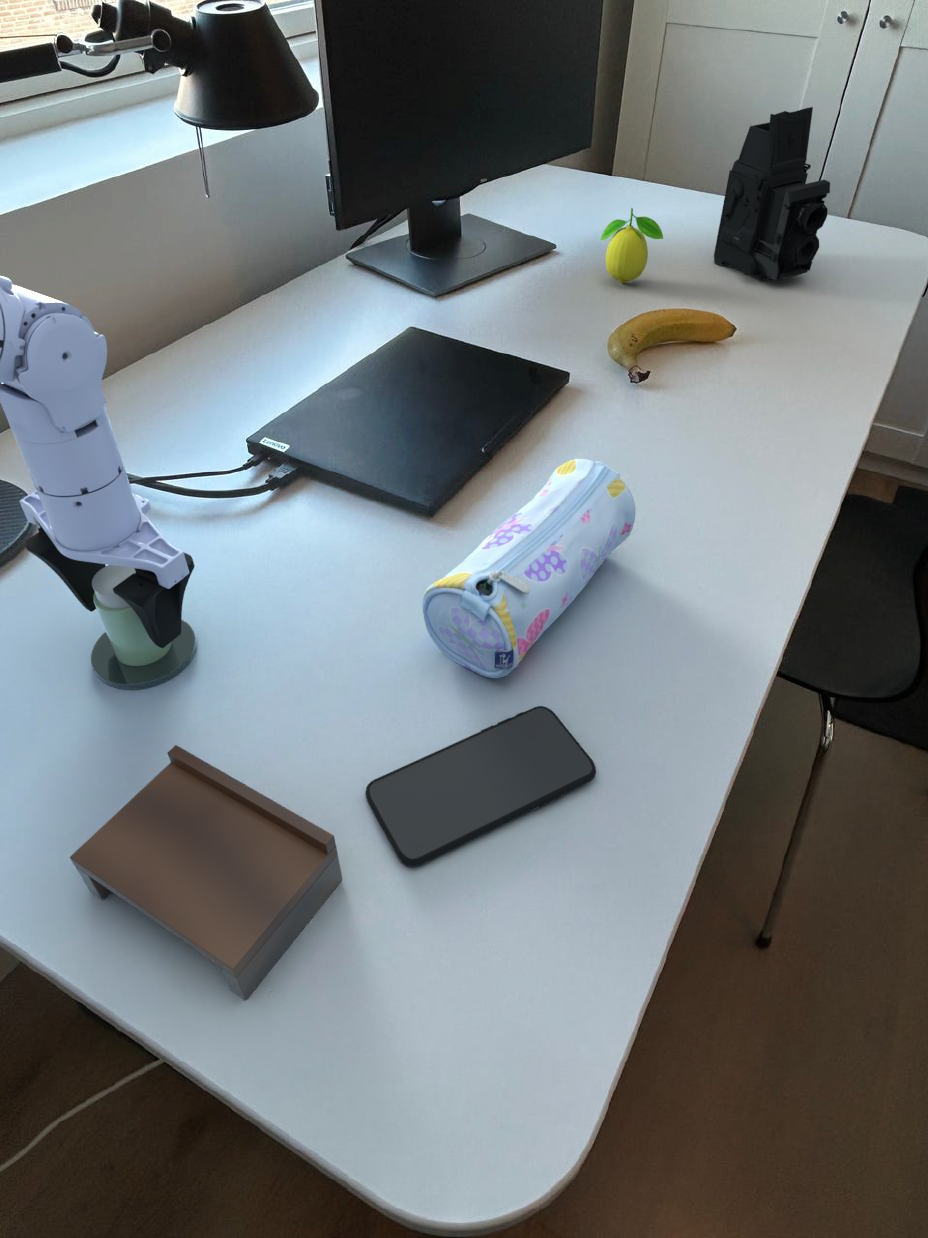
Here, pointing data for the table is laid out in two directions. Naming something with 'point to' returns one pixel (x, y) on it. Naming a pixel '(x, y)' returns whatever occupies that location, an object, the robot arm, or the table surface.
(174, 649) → the coaster
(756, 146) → the camera
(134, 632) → the shaker
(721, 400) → the table surface
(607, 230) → the lemon
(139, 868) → the shelf
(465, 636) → the pencil case
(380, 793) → the smartphone
